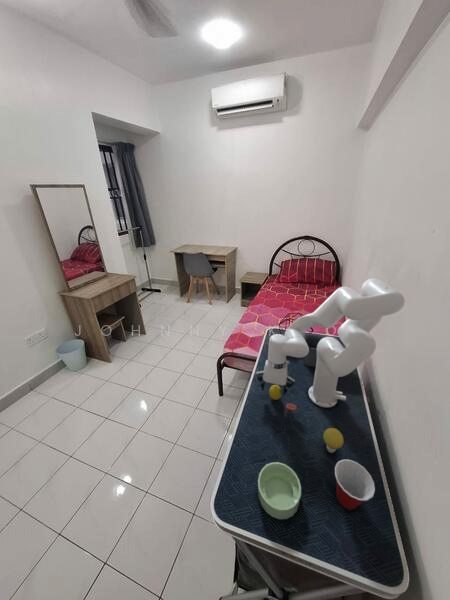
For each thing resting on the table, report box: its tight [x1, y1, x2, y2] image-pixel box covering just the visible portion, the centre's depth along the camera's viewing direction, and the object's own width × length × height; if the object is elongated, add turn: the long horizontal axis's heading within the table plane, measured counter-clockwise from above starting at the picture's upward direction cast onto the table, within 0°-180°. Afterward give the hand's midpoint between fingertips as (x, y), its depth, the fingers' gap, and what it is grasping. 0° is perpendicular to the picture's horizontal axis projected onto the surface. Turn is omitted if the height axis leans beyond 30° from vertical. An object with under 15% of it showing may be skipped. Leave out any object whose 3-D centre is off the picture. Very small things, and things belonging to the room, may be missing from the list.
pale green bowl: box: [257, 461, 302, 520], centre depth 76 cm, size 13×13×6 cm
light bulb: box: [322, 427, 345, 454], centre depth 87 cm, size 7×7×10 cm
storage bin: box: [303, 332, 346, 368], centre depth 128 cm, size 21×16×14 cm
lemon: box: [268, 384, 283, 401], centre depth 110 cm, size 6×6×8 cm
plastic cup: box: [334, 459, 376, 510], centre depth 73 cm, size 11×11×12 cm
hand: (273, 390), depth 109 cm, fingers open, 9 cm apart
